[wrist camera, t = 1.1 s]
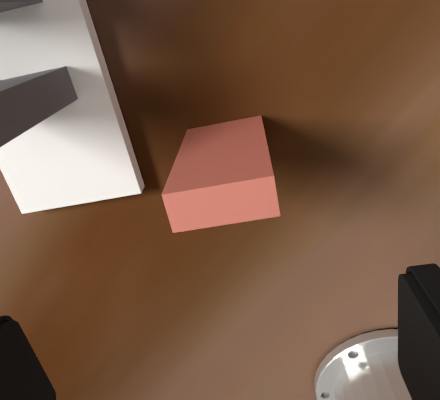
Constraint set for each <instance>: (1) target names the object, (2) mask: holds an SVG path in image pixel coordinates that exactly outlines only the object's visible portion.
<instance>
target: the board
mask: <svg viewBox="0 0 440 400" xmlns="http://www.w3.org/2000/svg"><path fill="white" fill-rule="evenodd" d="M64 66H66V67H67V69H68V72H69V75H70V78H71V81H72V83H73V86H74V89H75V92H76V94H77V97H78V99H77V100H76V101H74V102H72V103H71V104H69V105H68V106H66V107H64V108H63V109H61V110H60V111H58V112H56V113H55V114H53V115H51V116H50V117H48V118H47V119H45V120H43V121H42V122H40V123H39V124H37V125H35V126H34V127H32V128H31V129H29V130H27V131H26V132H24V133H22V134H21V135H19V136H18V137H16V138H14V139H13V140H11V141H10V142H8V143H6V144H5V145H3V146H2V147H0V169H1V171H2V173H3V175H4V178H5V180H6V182H7V184H8V186H9V188H10V190H11V192H12V194H13V196H14V198H15V200H16V202H17V204H18V206H19V209H20V211H21V213H22V214H24V213H30V212H36V211H41V210H47V209H53V208H59V207H65V206H71V205H76V204H82V203H88V202H94V201H100V200H106V199H111V198H117V197H123V196H129V195H135V194H141V193H142V191H143V189H144V187H145V185H144V182H143V179H142V176H141V173H140V170H139V166H138V163H137V160H136V157H135V154H134V151H133V147H132V144H131V141H130V138H129V135H128V132H127V129H126V125H125V122H124V119H123V116H122V113H121V110H120V106H119V103H118V100H117V97H116V94H115V91H114V88H113V84H112V81H111V78H110V75H109V72H108V69H107V65H106V62H105V59H104V56H103V53H102V50H101V47H100V43H99V40H98V37H97V34H96V31H95V28H94V24H93V21H92V18H91V15H90V12H89V9H88V6H87V2H86V0H43V2H42V3H38V4H33V5H29V6H25V7H21V8H17V9H13V10H9V11H5V12H1V13H0V80H5V79H9V78H14V77H18V76H23V75H27V74H32V73H37V72H41V71H46V70H50V69H55V68H59V67H64Z"/></svg>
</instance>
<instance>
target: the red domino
mask: <svg viewBox="0 0 440 400" xmlns="http://www.w3.org/2000/svg"><path fill="white" fill-rule="evenodd" d="M162 198H163V201H164V204H165V208H166V211H167V214H168V218H169V221H170V224H171V228H172V231H173V233H175V232H182V231H188V230H194V229H201V228H207V227H213V226H220V225H226V224H233V223H239V222H245V221H252V220H258V219H264V218H271V217H277V216H280V211H279V205H278V199H277V192H276V186H275V179H274V174H273V169H272V164H271V159H270V154H269V150H268V145H267V140H266V135H265V131H264V126H263V121H262V116H261V115H260V116H255V117H250V118H245V119H239V120H234V121H229V122H223V123H218V124H213V125H208V126H202V127H197V128H192V129H187V131H186V134H185V136H184V139H183V141H182V144H181V147H180V149H179V152H178V154H177V157H176V159H175V162H174V164H173V167H172V170H171V172H170V175H169V177H168V180H167V182H166V185H165V188H164V190H163V193H162Z"/></svg>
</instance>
